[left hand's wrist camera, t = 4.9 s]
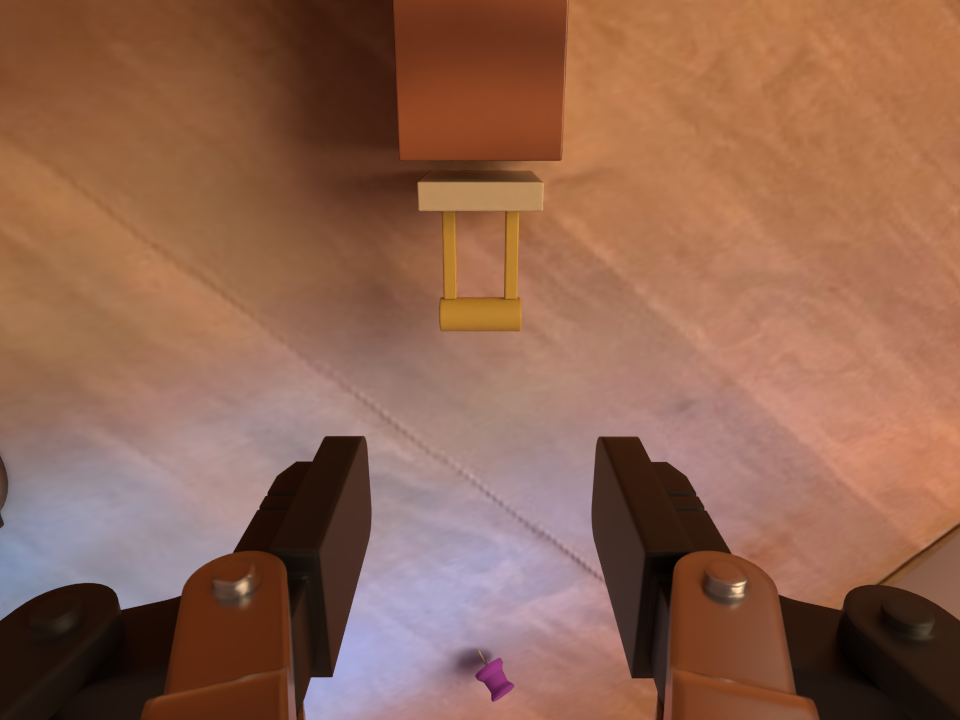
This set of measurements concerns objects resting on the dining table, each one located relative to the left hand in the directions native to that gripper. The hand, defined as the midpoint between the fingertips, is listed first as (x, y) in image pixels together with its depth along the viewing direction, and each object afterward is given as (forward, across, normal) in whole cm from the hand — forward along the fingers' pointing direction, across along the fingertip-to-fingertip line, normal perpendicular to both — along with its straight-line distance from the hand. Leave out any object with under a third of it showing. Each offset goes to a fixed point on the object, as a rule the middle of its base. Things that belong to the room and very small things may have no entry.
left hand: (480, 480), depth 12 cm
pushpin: (+24, -1, +29) cm, 38 cm away
